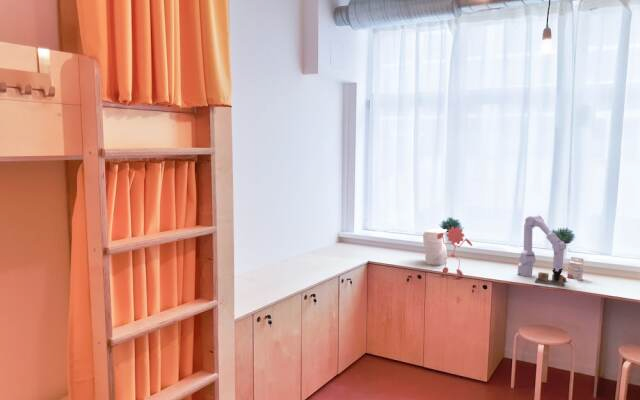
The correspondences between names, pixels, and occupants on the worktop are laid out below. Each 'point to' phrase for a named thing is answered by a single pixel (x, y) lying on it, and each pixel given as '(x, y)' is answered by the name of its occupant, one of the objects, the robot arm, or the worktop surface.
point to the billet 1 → (543, 276)
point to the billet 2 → (559, 279)
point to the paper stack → (434, 247)
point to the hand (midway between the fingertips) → (556, 279)
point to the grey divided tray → (549, 282)
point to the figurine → (455, 237)
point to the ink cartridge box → (575, 268)
